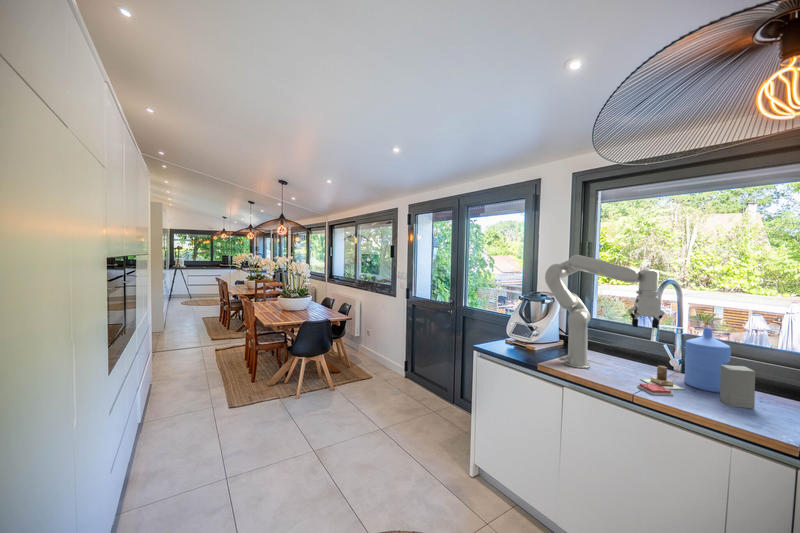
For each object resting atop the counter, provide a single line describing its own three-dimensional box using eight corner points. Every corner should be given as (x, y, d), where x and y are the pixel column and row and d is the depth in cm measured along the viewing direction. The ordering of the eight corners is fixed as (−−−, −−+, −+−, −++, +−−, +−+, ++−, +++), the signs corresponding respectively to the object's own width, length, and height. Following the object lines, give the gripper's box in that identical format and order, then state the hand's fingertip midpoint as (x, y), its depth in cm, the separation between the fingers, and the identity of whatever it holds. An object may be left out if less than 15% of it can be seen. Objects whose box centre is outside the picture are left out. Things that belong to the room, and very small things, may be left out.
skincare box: (743, 403, 133) (744, 365, 133) (756, 410, 126) (757, 371, 126) (718, 400, 136) (719, 363, 136) (729, 406, 129) (730, 368, 129)
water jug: (694, 390, 146) (696, 330, 146) (677, 379, 161) (679, 324, 161) (738, 395, 141) (740, 333, 140) (717, 383, 155) (718, 327, 155)
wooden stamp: (660, 385, 149) (660, 368, 149) (650, 381, 155) (651, 364, 155) (673, 386, 149) (673, 369, 149) (663, 381, 155) (663, 365, 155)
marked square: (658, 389, 146) (658, 388, 146) (639, 379, 158) (639, 378, 158) (685, 389, 146) (685, 389, 146) (664, 380, 158) (664, 379, 158)
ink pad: (652, 395, 139) (652, 390, 139) (637, 387, 148) (637, 383, 148) (673, 395, 139) (673, 391, 139) (657, 387, 148) (657, 383, 148)
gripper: (634, 293, 157) (632, 327, 158) (671, 295, 156) (668, 330, 157) (625, 291, 165) (622, 324, 165) (659, 294, 164) (656, 326, 164)
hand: (644, 327), depth 161 cm, fingers open, 9 cm apart
